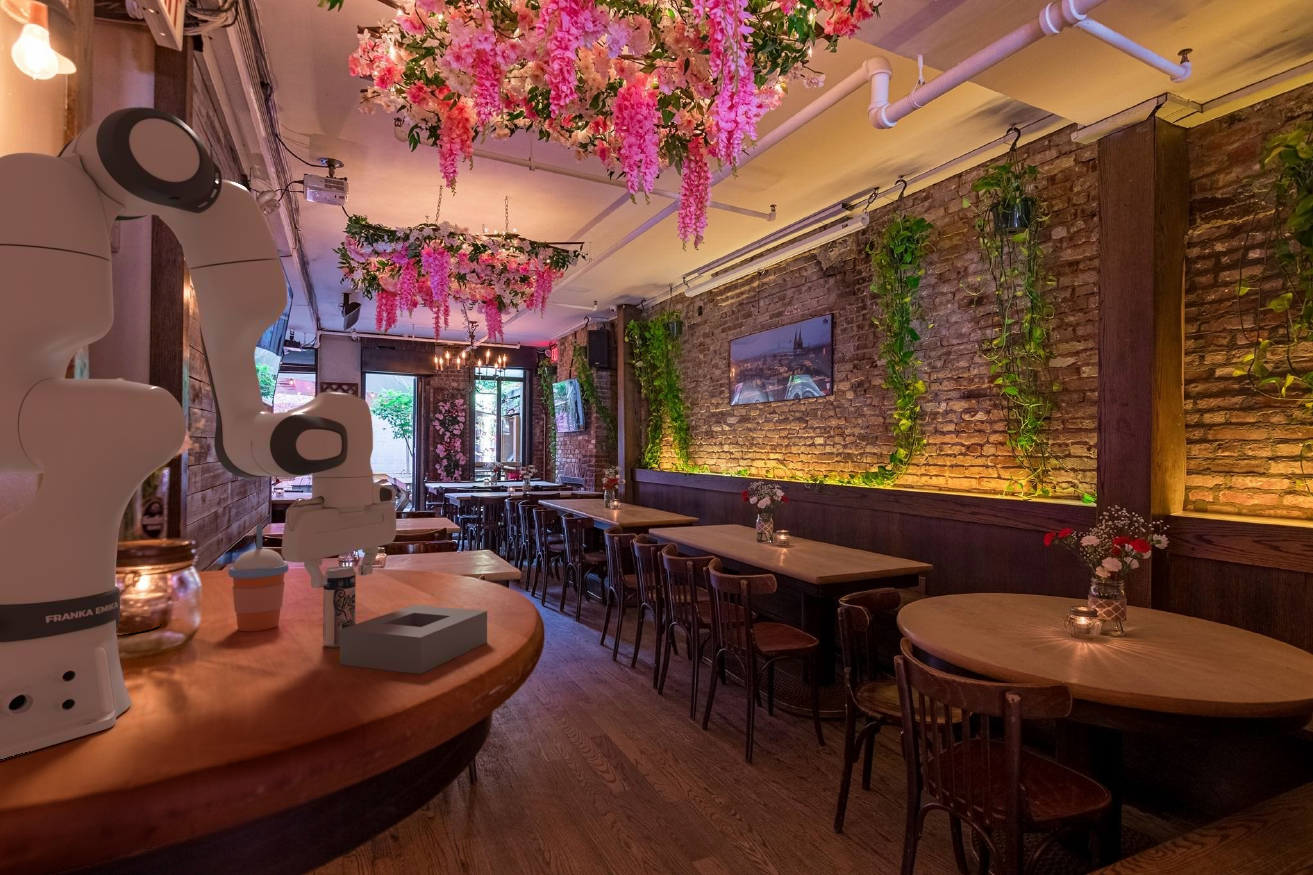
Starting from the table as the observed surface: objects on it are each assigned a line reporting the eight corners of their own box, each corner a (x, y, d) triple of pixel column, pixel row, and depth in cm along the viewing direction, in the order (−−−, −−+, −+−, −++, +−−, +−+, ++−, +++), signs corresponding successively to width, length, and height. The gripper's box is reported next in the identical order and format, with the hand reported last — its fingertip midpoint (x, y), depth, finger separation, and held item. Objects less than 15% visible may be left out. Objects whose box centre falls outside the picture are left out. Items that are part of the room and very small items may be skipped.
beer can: (342, 649, 101) (343, 571, 102) (315, 647, 102) (316, 570, 103) (362, 640, 106) (362, 566, 106) (336, 639, 107) (336, 565, 107)
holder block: (420, 674, 90) (420, 637, 90) (339, 664, 94) (339, 629, 94) (487, 642, 105) (487, 610, 105) (414, 635, 109) (414, 605, 109)
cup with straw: (232, 624, 117) (233, 523, 118) (290, 618, 121) (291, 521, 122) (223, 636, 109) (224, 528, 110) (285, 630, 113) (286, 525, 114)
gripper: (303, 501, 94) (303, 597, 94) (402, 489, 113) (402, 569, 113) (270, 499, 96) (271, 593, 96) (373, 488, 116) (373, 567, 116)
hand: (343, 580), depth 105 cm, fingers open, 8 cm apart
